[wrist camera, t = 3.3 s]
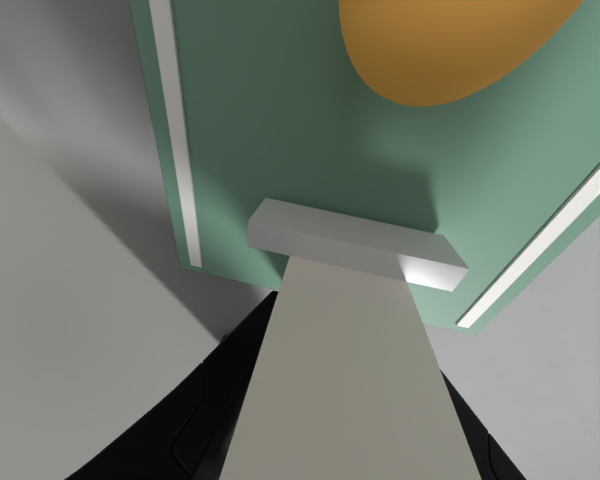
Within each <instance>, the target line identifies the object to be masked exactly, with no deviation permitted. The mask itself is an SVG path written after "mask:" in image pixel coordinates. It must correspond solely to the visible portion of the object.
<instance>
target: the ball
mask: <svg viewBox="0 0 600 480" xmlns="http://www.w3.org/2000/svg"><path fill="white" fill-rule="evenodd" d="M582 2H583V0H339V17H340V24H341V30H342V35H343V39H344V43H345V47H346V50H347V53H348V55H349V58H350V60H351V63H352V64H353V66H354V68H355V70H356V71H357V73H358V75H359V76H360V77H361V78H362V80H363V81H364V82H365V83H366V84H367V85H368V86H369V87H370V88H371V89H372V90H373V91H374V92H376V93H377V94H379V95H380V96H382V97H383V98H386V99H388V100H390V101H392V102H395V103H398V104H402V105H406V106H415V107H421V106H434V105H439V104H445V103H449V102H452V101H456V100H459V99H462V98H464V97H466V96H469V95H471V94H473V93H476V92H478V91H480V90H482V89H484V88H485V87H487V86H489V85H491V84H493V83H494V82H496V81H498V80H499V79H501V78H502V77H504V76H505V75H507V74H508V73H509V72H511V71H512V70H514V69H515V68H516V67H518V66H519V65H520V64H521V63H523V62H524V61H525V60H526V59H527V58H529V57H530V56H531V55H532V54H533V53H535V52H536V51H537V50H538V49H539V48H540V47H541V46H542V45H543V44H544V43H546V42H547V41H548V40H549V39H550V38H551V37H552V36H553V35H554V34H555V33H556V32H557V30H558V29H559V28H560V27H561V26H562V25H563V24H564V23H565V22H566V20H567V19H568V18H569V17H570V16H571V15H572V14H573V12H574V11H575V10H576V9H577V8H578V7H579V5H580V4H581V3H582Z"/></svg>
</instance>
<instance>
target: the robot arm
mask: <svg viewBox="0 0 600 480" xmlns="http://www.w3.org/2000/svg"><path fill="white" fill-rule="evenodd" d="M277 295H278V291H272V292H271V293H270V294H269V295H268V296H267V297H266V298H265V299H264V300H263V301H262V302H261V303H260V304H259V305H258V306H257V307H256V308H255V309H254V310H253V311H252V312H251V313H250V314H249V315H248V316H247V317H246V318H245V319H244V320H243V321H242V322H241V323H240V324H239V325H238V326H237V327H236V328H235V329H234V330H233V331H232V332H231V333H230V334H229V335H228V336H227V335H226V336H224V337H223V338H222V340H221V343H220V344H219V345H218V346H217V347H216V348H215V349H214V350H213V351H212V352H211V353H210V354H209V355H208V356H207V357H206V358H205V359H204V361H203V363H200V364H199V365H198V366H197V367H196V368H195V369H194V371H192V372H191V373H190V374H189V375H188V376H187V377H186V378H185V379H184V380H183V381H182V382H181V383H180V384H179V385H178V386H177V387H176V388H175V389H174V390H173V391H171V392H170V393H169V394H168V395H167V396H166V397H165V398H163V399H162V400H161V401H160V402H159V403H158V404H157V405H156V406H154V407H153V408H152V409H151V410H150V411H148V412H147V413H146V414H145V415H144V416H143V417H142V418H140V419H139V420H138V421H137V422H136V423H134V424H133V425H132V426H131V427H130V428H128V429H127V430H126V431H125V432H124V433H122V434H121V435H120V436H119V437H118V438H117V439H115V440H114V441H113V442H112V443H111V444H110V445H108V446H107V447H106V448H105V449H103V450H102V451H101V452H100V453H99V454H97V455H96V456H95V457H94V458H93V459H91V460H90V461H89V462H88V463H86V464H85V465H84V466H82V467H81V468H80V469H78V470H77V471H76V472H74V473H73V474H72V475H70V476H69V477H67V478H66V479H64V480H219V478H220V475H221V472H222V469H223V466H224V462H225V459H226V456H227V453H228V450H229V447H230V443H231V440H232V437H233V434H234V431H235V428H236V425H237V421H238V418H239V415H240V412H241V409H242V406H243V402H244V399H245V396H246V393H247V390H248V387H249V383H250V380H251V377H252V374H253V371H254V368H255V364H256V361H257V358H258V355H259V352H260V349H261V346H262V342H263V339H264V336H265V333H266V330H267V327H268V323H269V320H270V317H271V314H272V311H273V308H274V304H275V301H276V298H277ZM440 371H441V370H440ZM441 373H442V376H443V379H444V381H445V384H446V387H447V389H448V392H449V395H450V397H451V400H452V403H453V405H454V408H455V411H456V413H457V416H458V418H459V421H460V424H461V426H462V429H463V432H464V434H465V437H466V440H467V442H468V445H469V448H470V450H471V453H472V456H473V458H474V461H475V464H476V466H477V469H478V472H479V474H480V477H481V480H526V478H525V477H524V476H523V475H522V473H521V472H520V471H519V470H518V468H517V467H516V466H515V465H514V463H513V462H512V461H511V460H510V458H509V457H508V456H507V455H506V453H505V452H504V451H503V449H502V448H501V447H500V446H499V444H498V443H497V442H496V440H495V439H494V438H493V437H492V435H491V434H489V433H488V430H487V429H486V428H485V426H484V425H483V424H482V423H481V421H480V420H479V419H478V417H477V416H476V415H475V413H474V412H473V411H472V410H471V408H470V407H469V406H468V404H467V403H466V402H465V401H464V399H463V398H462V397H461V395H460V394H459V393H458V392H457V390H456V389H455V388H454V386H453V385H452V384H451V382H450V381H449V380H448V379H447V377H446V376H445V375H444V373H443V372H442V371H441Z"/></svg>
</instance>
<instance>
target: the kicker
mask: <svg viewBox="0 0 600 480" xmlns="http://www.w3.org/2000/svg"><path fill="white" fill-rule="evenodd" d="M247 246H248V247H253V248H257V249H262V250H266V251H271V252H275V253H280V254H284V255H289V256H290V257H289V260H288V263H287V267H286V270H285V273H284V276H283V279H282V282H281V285H280V289H279V292H278V295H277V298H276V301H275V304H274V308H273V311H272V314H271V317H270V320H269V323H268V327H267V330H266V333H265V336H264V339H263V342H262V346H261V349H260V352H259V355H258V358H257V361H256V364H255V368H254V371H253V374H252V377H251V380H250V383H249V387H248V390H247V393H246V396H245V399H244V402H243V406H242V409H241V412H240V415H239V418H238V421H237V425H236V428H235V431H234V434H233V437H232V440H231V443H230V447H229V450H228V453H227V456H226V459H225V462H224V466H223V469H222V472H221V475H220V478H219V480H481V477H480V474H479V472H478V469H477V466H476V464H475V461H474V458H473V456H472V453H471V450H470V448H469V445H468V442H467V440H466V437H465V434H464V432H463V429H462V426H461V424H460V421H459V418H458V416H457V413H456V411H455V408H454V405H453V403H452V400H451V397H450V395H449V392H448V389H447V387H446V384H445V381H444V379H443V376H442V373H441V371H440V368H439V365H438V363H437V360H436V357H435V355H434V352H433V349H432V347H431V344H430V341H429V339H428V336H427V334H426V331H425V328H424V326H423V323H422V320H421V318H420V315H419V312H418V310H417V307H416V304H415V302H414V299H413V296H412V294H411V291H410V288H409V286H408V283H407V282H411V283H415V284H420V285H424V286H429V287H433V288H438V289H442V290H447V291H451V292H452V291H453V290H454V289H455V287H456V286H457V285H458V284H459V282H460V281H461V280H462V279H463V277H464V276H465V275H466V273H467V272H468V271H469V270H470V269H469V267H468V266H467V265H466V263H465V262H464V261H463V260H462V258H461V257H460V256H459V254H458V253H457V252H456V251H455V249H454V248H453V247H452V245H451V244H450V243H449V242H448V240H447V239H446V238H445V236H444V235H439V234H435V233H430V232H425V231H420V230H416V229H411V228H406V227H402V226H397V225H392V224H387V223H383V222H378V221H373V220H369V219H364V218H359V217H354V216H350V215H345V214H340V213H336V212H331V211H326V210H321V209H317V208H312V207H307V206H303V205H298V204H293V203H288V202H284V201H279V200H274V199H270V198H265V199H264V201H263V202H262V203H261V204H260V206H259V207H258V208H257V210H256V211H255V212H254V214H253V215H252V216H251V218H250V219H249V220H248V238H247Z"/></svg>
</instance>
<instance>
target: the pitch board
mask: <svg viewBox="0 0 600 480" xmlns="http://www.w3.org/2000/svg"><path fill="white" fill-rule="evenodd" d="M129 4H130V9H131V14H132V20H133V25H134V30H135V35H136V40H137V45H138V51H139V56H140V61H141V66H142V71H143V77H144V82H145V87H146V92H147V97H148V103H149V108H150V113H151V118H152V123H153V128H154V134H155V139H156V144H157V149H158V154H159V160H160V165H161V170H162V175H163V180H164V185H165V191H166V196H167V201H168V206H169V211H170V217H171V222H172V227H173V232H174V237H175V242H176V248H177V253H178V258H179V263H180V268H182V269H187V270H191V271H196V272H200V273H204V274H209V275H213V276H217V277H222V278H226V279H231V280H235V281H239V282H244V283H248V284H252V285H257V286H261V287H266V288H270V289H274V290H279V289H280V285H281V282H282V279H283V276H284V273H285V270H286V267H287V263H288V260H289V257H290V256H289V255H284V254H280V253H275V252H271V251H266V250H262V249H257V248H253V247H248V246H247V238H248V220H249V219H250V218H251V216H252V215H253V214H254V212H255V211H256V210H257V208H258V207H259V206H260V204H261V203H262V202H263V201H264V199H265V198H270V199H274V200H279V201H284V202H288V203H293V204H298V205H303V206H307V207H312V208H317V209H321V210H326V211H331V212H336V213H340V214H345V215H350V216H354V217H359V218H364V219H369V220H373V221H378V222H383V223H387V224H392V225H397V226H402V227H406V228H411V229H416V230H420V231H425V232H430V233H435V234H439V235H444V236H445V238H446V239H447V240H448V242H449V243H450V244H451V245H452V247H453V248H454V249H455V251H456V252H457V253H458V254H459V256H460V257H461V258H462V260H463V261H464V262H465V263H466V265H467V266H468V267H469V269H470V270H469V271H468V272H467V273H466V275H465V276H464V277H463V279H462V280H461V281H460V282H459V284H458V285H457V286H456V287H455V289H454V290H453V291H452V292H451V291H447V290H442V289H438V288H433V287H429V286H424V285H420V284H415V283H411V282H407V283H408V286H409V288H410V291H411V294H412V296H413V299H414V302H415V304H416V307H417V310H418V312H419V315H420V318H421V320H422V323H423V324H428V325H432V326H436V327H441V328H445V329H450V330H454V331H458V332H463V333H467V334H471V335H476V334H477V333H478V332H479V331H481V330H482V329H483V328H484V327H485V326H486V325H487V324H488V323H489V322H490V321H491V320H492V319H493V318H494V317H495V316H496V315H497V314H498V313H499V312H500V311H501V310H502V309H503V308H504V307H505V306H506V305H507V304H509V303H510V302H511V301H512V300H513V299H514V298H515V297H516V296H517V295H518V294H519V293H520V292H521V291H522V290H523V289H524V288H525V287H526V286H527V285H528V284H529V283H530V282H531V281H532V280H533V279H534V278H536V277H537V276H538V275H539V274H540V273H541V272H542V271H543V270H544V269H545V268H546V267H547V266H548V265H549V264H550V263H551V262H552V261H553V260H554V259H555V258H556V257H557V256H558V255H559V254H560V253H561V252H562V251H564V250H565V249H566V248H567V247H568V246H569V245H570V244H571V243H572V242H573V241H574V240H575V239H576V238H577V237H578V236H579V235H580V234H581V233H582V232H583V231H584V230H585V229H586V228H587V227H588V226H589V225H590V224H592V223H593V222H594V221H595V220H596V219H597V218H598V217H599V216H600V0H583V2H582V3H581V4H580V5H579V7H578V8H577V9H576V10H575V11H574V12H573V14H572V15H571V16H570V17H569V18H568V19H567V20H566V22H565V23H564V24H563V25H562V26H561V27H560V28H559V29H558V30H557V32H556V33H555V34H554V35H553V36H552V37H551V38H550V39H549V40H548V41H547V42H546V43H544V44H543V45H542V46H541V47H540V48H539V49H538V50H537V51H536V52H535V53H533V54H532V55H531V56H530V57H529V58H527V59H526V60H525V61H524V62H523V63H521V64H520V65H519V66H518V67H516V68H515V69H514V70H512V71H511V72H509V73H508V74H507V75H505V76H504V77H502V78H501V79H499V80H498V81H496V82H494V83H493V84H491V85H489V86H487V87H485V88H484V89H482V90H480V91H478V92H476V93H473V94H471V95H469V96H466V97H464V98H462V99H459V100H456V101H452V102H449V103H445V104H439V105H434V106H421V107H415V106H406V105H402V104H398V103H395V102H392V101H390V100H388V99H386V98H383V97H382V96H380V95H379V94H377V93H376V92H374V91H373V90H372V89H371V88H370V87H369V86H368V85H367V84H366V83H365V82H364V81H363V80H362V78H361V77H360V76H359V75H358V73H357V71H356V70H355V68H354V66H353V64H352V63H351V60H350V58H349V55H348V53H347V50H346V47H345V43H344V39H343V35H342V30H341V24H340V17H339V0H129Z"/></svg>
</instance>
